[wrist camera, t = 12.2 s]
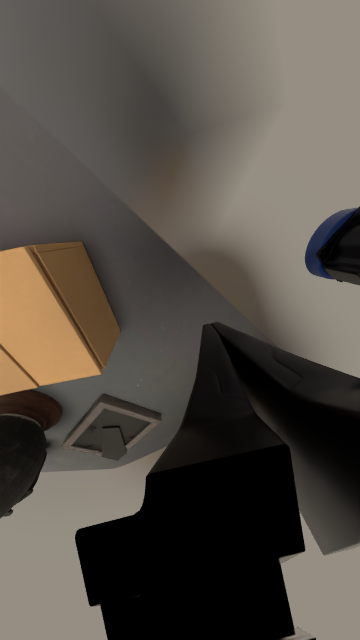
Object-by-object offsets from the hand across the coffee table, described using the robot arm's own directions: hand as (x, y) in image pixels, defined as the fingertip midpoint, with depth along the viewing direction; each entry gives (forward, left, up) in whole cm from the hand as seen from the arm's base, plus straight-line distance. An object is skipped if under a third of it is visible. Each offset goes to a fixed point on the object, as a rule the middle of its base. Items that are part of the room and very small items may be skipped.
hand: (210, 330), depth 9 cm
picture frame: (+36, +5, -13) cm, 38 cm away
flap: (+9, -10, -5) cm, 15 cm away
